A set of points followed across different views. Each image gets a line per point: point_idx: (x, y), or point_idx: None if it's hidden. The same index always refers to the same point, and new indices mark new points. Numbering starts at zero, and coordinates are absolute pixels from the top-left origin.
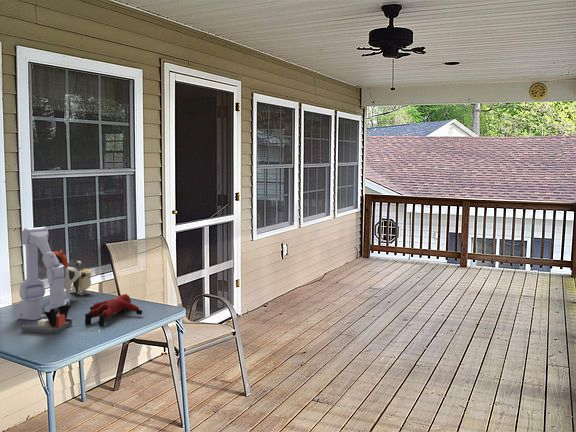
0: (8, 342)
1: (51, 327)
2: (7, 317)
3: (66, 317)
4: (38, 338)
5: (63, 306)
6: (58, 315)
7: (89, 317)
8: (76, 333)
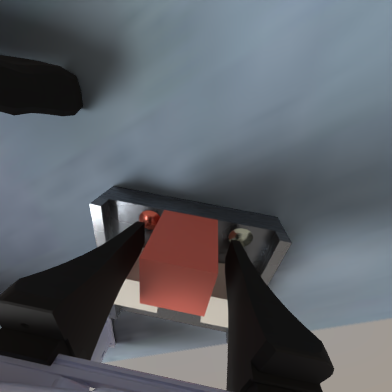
0: (355, 316)
1: (284, 246)
2: (112, 357)
3: (123, 231)
4: (330, 249)
5: (73, 337)
6: (187, 283)
7: (15, 63)
8: (268, 77)
